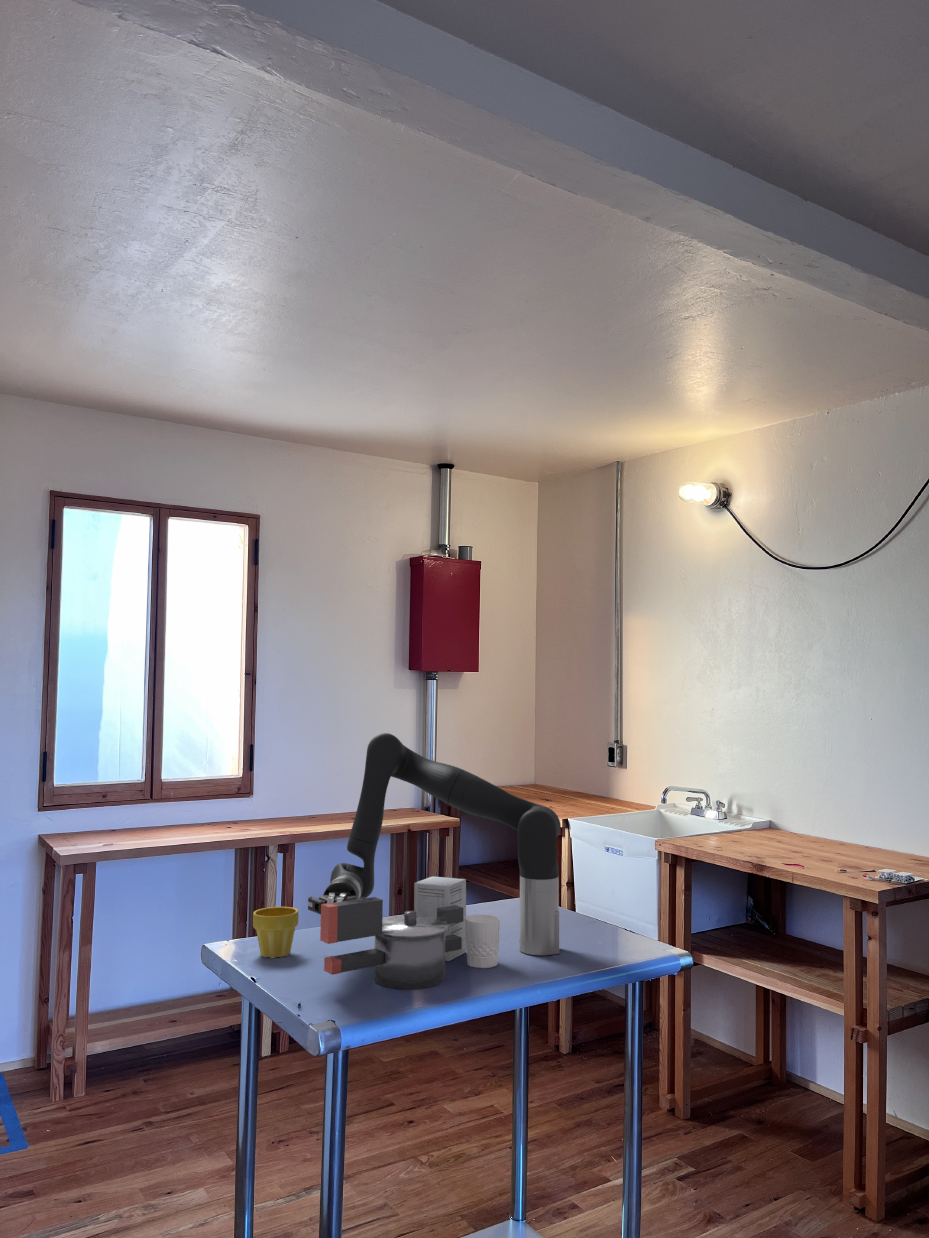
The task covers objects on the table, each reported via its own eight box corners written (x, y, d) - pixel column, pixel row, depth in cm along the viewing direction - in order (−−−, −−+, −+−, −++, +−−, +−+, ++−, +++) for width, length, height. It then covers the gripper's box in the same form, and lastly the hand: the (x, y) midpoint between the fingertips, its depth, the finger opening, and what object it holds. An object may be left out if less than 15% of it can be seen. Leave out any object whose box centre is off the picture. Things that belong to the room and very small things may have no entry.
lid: (438, 913, 208) (439, 880, 208) (481, 927, 195) (481, 892, 196) (306, 934, 188) (306, 898, 189) (343, 951, 175) (344, 913, 176)
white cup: (488, 971, 199) (488, 924, 200) (458, 965, 203) (458, 919, 204) (506, 962, 205) (506, 917, 206) (476, 957, 209) (476, 912, 210)
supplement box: (467, 952, 214) (468, 878, 215) (449, 962, 205) (450, 885, 207) (431, 947, 218) (432, 875, 219) (412, 956, 210) (413, 881, 211)
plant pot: (242, 954, 210) (244, 910, 211) (280, 945, 218) (281, 903, 219) (269, 963, 203) (270, 918, 204) (306, 954, 211) (307, 910, 212)
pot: (462, 967, 202) (462, 920, 202) (455, 1001, 179) (456, 948, 180) (342, 964, 203) (343, 918, 204) (320, 997, 180) (322, 945, 181)
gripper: (313, 877, 203) (298, 894, 186) (372, 878, 203) (363, 894, 186) (312, 912, 202) (297, 931, 185) (372, 912, 202) (362, 932, 185)
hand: (330, 913), depth 185 cm, fingers closed
